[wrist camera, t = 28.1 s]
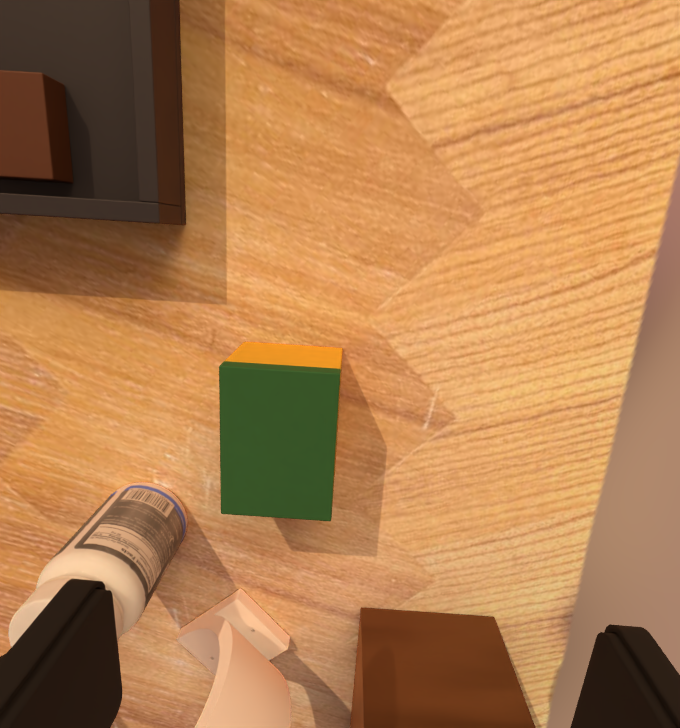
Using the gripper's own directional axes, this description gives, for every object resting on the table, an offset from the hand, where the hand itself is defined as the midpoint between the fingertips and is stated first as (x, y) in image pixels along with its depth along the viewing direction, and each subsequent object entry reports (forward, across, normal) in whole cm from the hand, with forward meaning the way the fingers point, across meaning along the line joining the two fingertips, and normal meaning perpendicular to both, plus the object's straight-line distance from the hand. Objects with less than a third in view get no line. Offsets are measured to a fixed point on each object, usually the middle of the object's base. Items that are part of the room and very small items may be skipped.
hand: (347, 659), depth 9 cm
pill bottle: (+15, +11, +8) cm, 21 cm away
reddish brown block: (+15, +15, -11) cm, 24 cm away
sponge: (+15, +3, +1) cm, 16 cm away
